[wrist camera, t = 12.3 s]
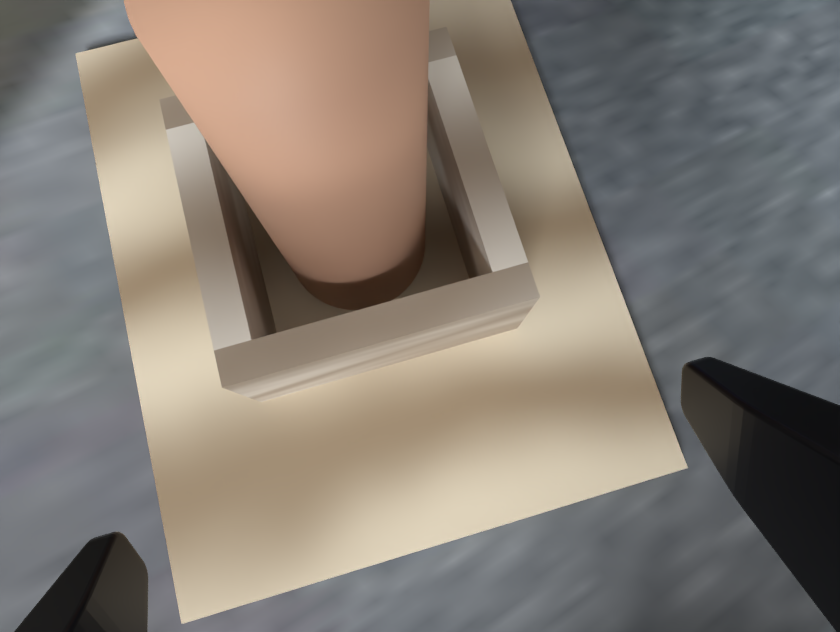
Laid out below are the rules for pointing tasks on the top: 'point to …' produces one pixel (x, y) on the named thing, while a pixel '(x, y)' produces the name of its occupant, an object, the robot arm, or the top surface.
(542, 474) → the socket
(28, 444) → the top surface
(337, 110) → the peg
